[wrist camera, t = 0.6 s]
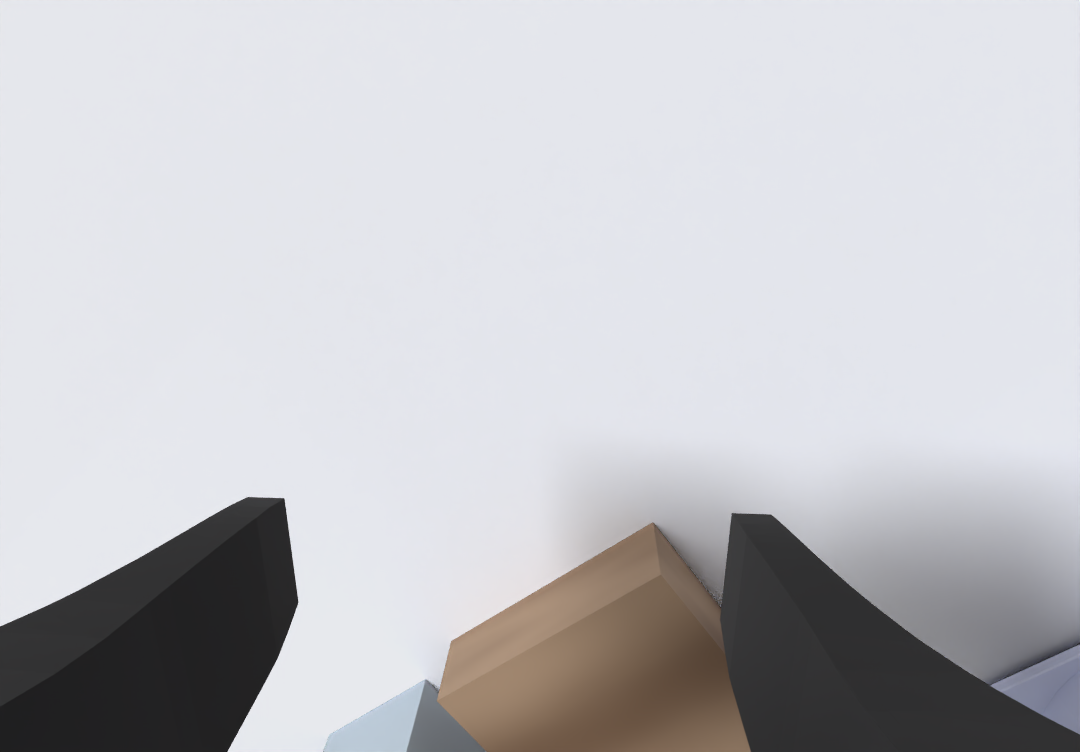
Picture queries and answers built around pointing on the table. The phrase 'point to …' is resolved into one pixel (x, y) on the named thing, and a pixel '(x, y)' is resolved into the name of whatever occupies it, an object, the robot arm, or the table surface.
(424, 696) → the grey block
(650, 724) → the walnut base
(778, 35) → the table surface
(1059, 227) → the table surface
